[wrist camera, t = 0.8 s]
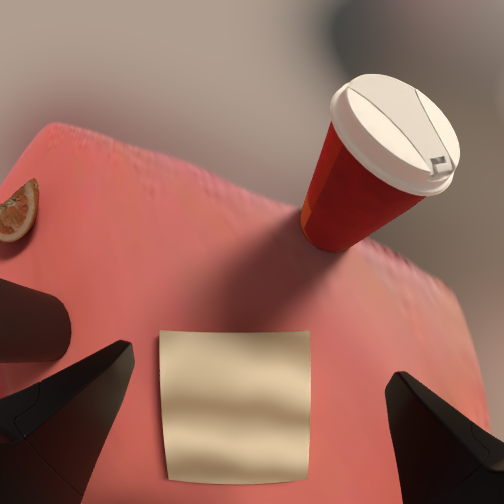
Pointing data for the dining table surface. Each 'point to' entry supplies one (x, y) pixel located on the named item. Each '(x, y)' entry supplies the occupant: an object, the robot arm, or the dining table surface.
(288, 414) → the napkin
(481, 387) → the dining table surface
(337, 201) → the coffee cup
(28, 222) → the fruit slice
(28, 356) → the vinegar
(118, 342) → the robot arm
